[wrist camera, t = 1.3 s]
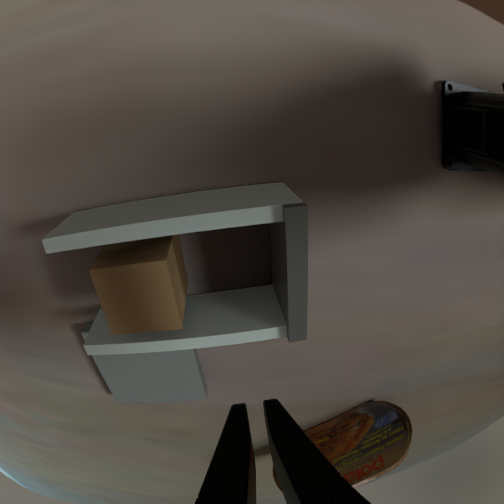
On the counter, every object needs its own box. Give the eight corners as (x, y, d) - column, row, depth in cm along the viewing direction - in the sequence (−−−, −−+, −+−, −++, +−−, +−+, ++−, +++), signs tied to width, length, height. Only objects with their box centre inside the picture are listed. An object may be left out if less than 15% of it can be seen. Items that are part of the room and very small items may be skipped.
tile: (187, 313, 21) (186, 324, 20) (206, 388, 24) (207, 399, 23) (85, 322, 20) (80, 332, 19) (119, 392, 24) (117, 402, 23)
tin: (392, 387, 28) (425, 447, 21) (395, 400, 30) (426, 456, 22) (265, 444, 30) (278, 508, 22) (277, 453, 31) (290, 513, 23)
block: (176, 223, 18) (165, 260, 14) (187, 281, 20) (182, 329, 16) (115, 232, 18) (88, 270, 14) (130, 287, 20) (112, 334, 15)
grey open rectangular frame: (282, 181, 18) (306, 205, 14) (287, 292, 21) (306, 339, 17) (74, 212, 17) (37, 243, 13) (105, 313, 20) (85, 360, 16)
